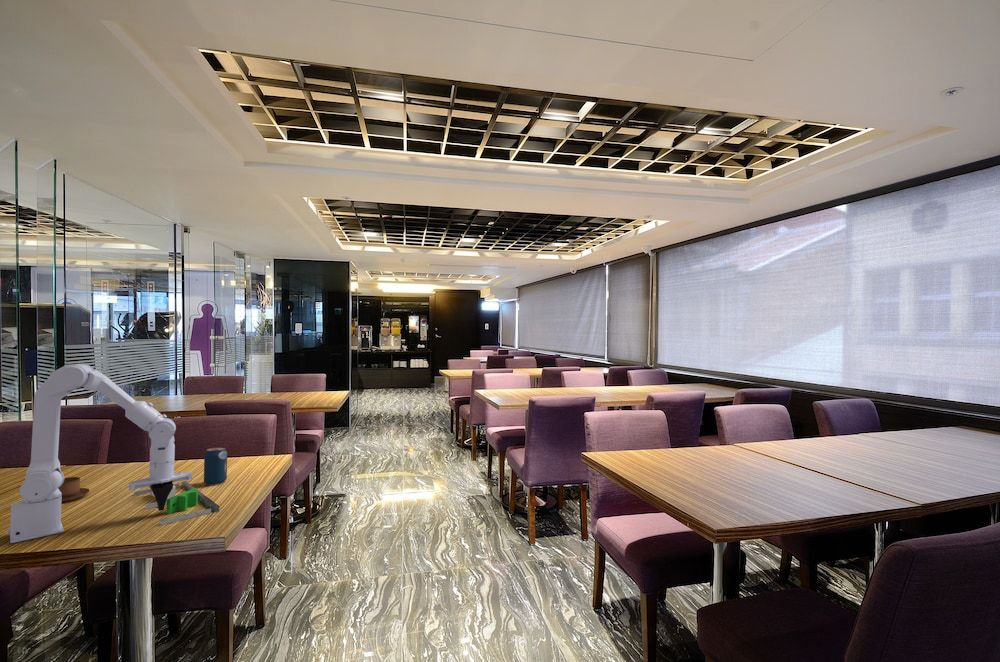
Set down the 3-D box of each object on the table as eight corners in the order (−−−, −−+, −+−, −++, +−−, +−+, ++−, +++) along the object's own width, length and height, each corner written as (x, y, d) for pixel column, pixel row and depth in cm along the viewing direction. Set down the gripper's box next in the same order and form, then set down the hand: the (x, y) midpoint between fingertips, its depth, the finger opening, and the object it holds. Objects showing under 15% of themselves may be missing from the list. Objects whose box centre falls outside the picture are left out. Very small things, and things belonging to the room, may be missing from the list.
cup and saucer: (36, 500, 144) (37, 480, 144) (88, 491, 152) (88, 472, 152) (36, 509, 135) (37, 488, 135) (90, 500, 144) (91, 480, 144)
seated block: (159, 502, 140) (160, 489, 141) (151, 494, 148) (152, 482, 148) (175, 499, 143) (175, 486, 144) (166, 491, 151) (167, 479, 151)
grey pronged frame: (160, 525, 123) (160, 519, 123) (134, 495, 148) (134, 490, 148) (219, 511, 133) (219, 506, 133) (185, 485, 158) (185, 481, 158)
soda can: (230, 482, 162) (231, 448, 162) (209, 487, 156) (210, 451, 156) (220, 479, 166) (221, 445, 166) (199, 483, 160) (200, 449, 160)
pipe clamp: (177, 514, 131) (178, 499, 131) (166, 514, 131) (166, 499, 131) (204, 502, 141) (204, 488, 141) (193, 501, 141) (194, 487, 141)
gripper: (132, 469, 123) (131, 520, 123) (195, 459, 134) (194, 506, 133) (128, 464, 128) (126, 513, 127) (189, 455, 138) (187, 500, 138)
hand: (161, 509), depth 131 cm, fingers closed
